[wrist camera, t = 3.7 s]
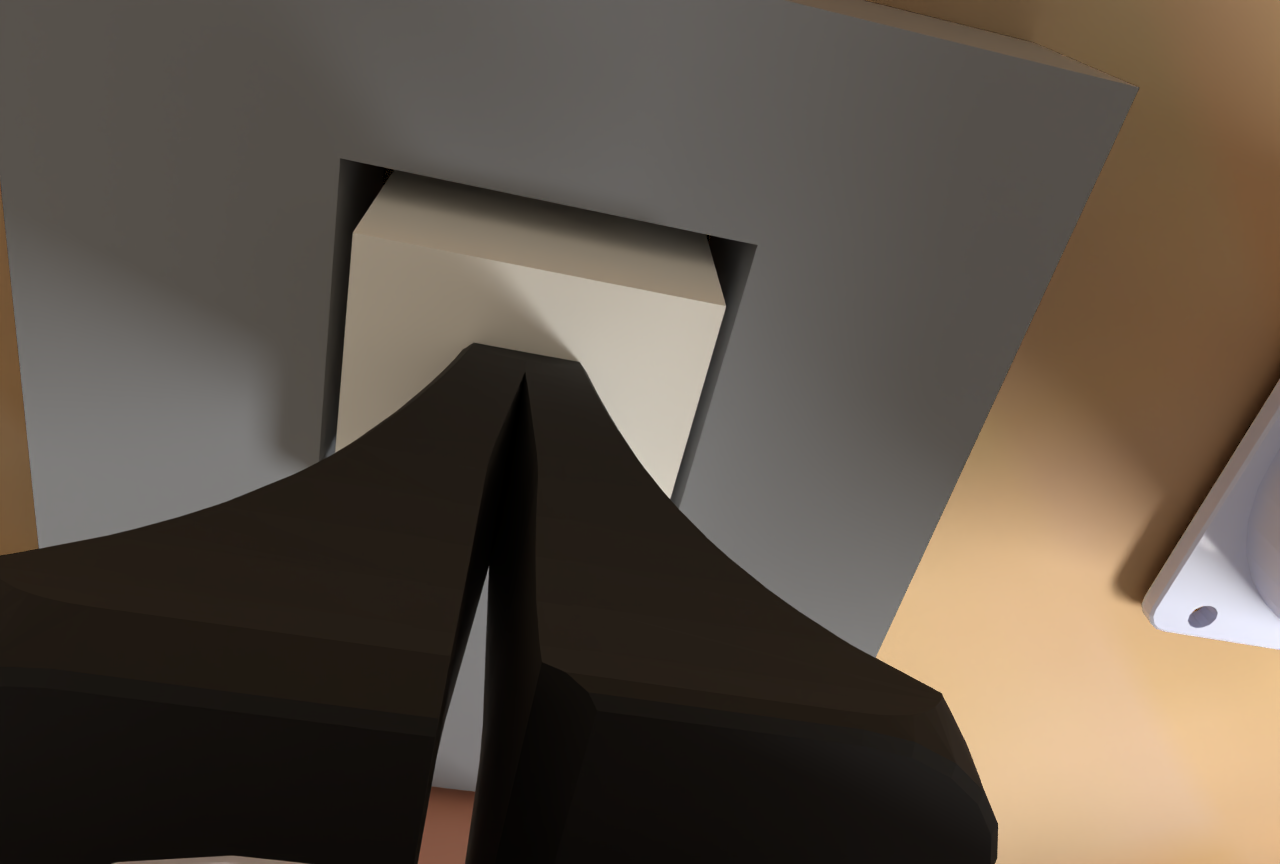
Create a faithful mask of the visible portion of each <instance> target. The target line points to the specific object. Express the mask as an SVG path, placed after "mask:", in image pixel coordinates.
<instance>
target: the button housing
mask: <svg viewBox="0 0 1280 864" xmlns="http://www.w3.org/2000/svg"><path fill="white" fill-rule="evenodd" d="M1138 90H1139V87H1137V86H1135V85H1132V84H1130V83H1128V82H1125V81H1123V80H1121V79H1118V78H1116V77H1114V76H1111V75H1109V74H1107V73H1104V72H1102V71H1099V70H1097V69H1095V68H1092V67H1090V66H1088V65H1085V64H1083V63H1081V62H1078V61H1076V60H1074V59H1071V58H1069V57H1067V56H1064V55H1062V54H1059V53H1057V52H1055V51H1052V50H1050V49H1048V48H1045V47H1043V46H1041V45H1038V44H1036V43H1033V42H1029V41H1025V40H1021V39H1017V38H1013V37H1009V36H1005V35H1001V34H997V33H993V32H989V31H985V30H981V29H977V28H973V27H969V26H965V25H961V24H957V23H953V22H949V21H945V20H941V19H937V18H933V17H929V16H925V15H921V14H917V13H913V12H909V11H905V10H901V9H897V8H893V7H889V6H885V5H881V4H877V3H873V2H869V1H865V0H0V183H1V192H2V202H3V211H4V221H5V230H6V240H7V250H8V259H9V269H10V278H11V288H12V297H13V307H14V316H15V326H16V335H17V345H18V355H19V364H20V374H21V383H22V393H23V402H24V412H25V421H26V431H27V440H28V450H29V460H30V469H31V479H32V488H33V498H34V507H35V517H36V526H37V536H38V546H39V549H40V548H45V547H50V546H55V545H61V544H66V543H71V542H76V541H81V540H87V539H92V538H97V537H102V536H107V535H111V534H115V533H120V532H124V531H128V530H132V529H136V528H140V527H144V526H147V525H151V524H155V523H158V522H162V521H166V520H169V519H173V518H177V517H180V516H183V515H186V514H190V513H193V512H196V511H199V510H202V509H205V508H209V507H212V506H215V505H218V504H221V503H224V502H226V501H229V500H232V499H234V498H236V497H239V496H241V495H244V494H246V493H249V492H251V491H254V490H256V489H259V488H261V487H264V486H266V485H269V484H271V483H274V482H276V481H279V480H281V479H283V478H286V477H288V476H291V475H293V474H295V473H297V472H299V471H302V470H304V469H306V468H308V467H310V466H312V465H313V464H315V463H317V462H319V461H321V460H323V459H325V458H327V457H329V456H331V455H332V454H334V453H335V449H336V437H337V424H338V412H339V399H340V387H341V374H342V362H343V349H344V337H345V324H346V312H347V299H348V287H349V274H350V262H351V249H352V237H353V232H354V230H355V229H356V227H357V225H358V224H359V222H360V221H361V219H362V218H363V216H364V215H365V213H366V212H367V210H368V209H369V207H370V206H371V204H372V203H373V201H374V200H375V198H376V197H377V195H378V194H379V192H380V191H381V189H382V186H383V175H384V168H389V169H394V170H399V171H404V172H408V173H413V174H418V175H423V176H428V177H432V178H437V179H442V180H447V181H452V182H456V183H461V184H466V185H471V186H476V187H481V188H485V189H490V190H495V191H500V192H505V193H509V194H514V195H519V196H524V197H529V198H533V199H538V200H543V201H548V202H553V203H557V204H562V205H567V206H572V207H577V208H582V209H586V210H591V211H596V212H601V213H606V214H610V215H615V216H620V217H625V218H630V219H634V220H639V221H644V222H649V223H654V224H659V225H663V226H668V227H673V228H678V229H683V230H687V231H692V232H697V233H702V234H707V235H711V240H710V243H709V247H710V251H711V254H712V258H713V261H714V265H715V269H716V272H717V276H718V279H719V283H720V286H721V290H722V293H723V297H724V300H725V304H726V309H725V312H724V316H723V319H722V322H721V326H720V329H719V333H718V336H717V340H716V343H715V347H714V350H713V353H712V357H711V360H710V364H709V367H708V371H707V374H706V378H705V381H704V384H703V388H702V391H701V395H700V398H699V402H698V405H697V409H696V412H695V415H694V419H693V422H692V426H691V429H690V433H689V436H688V440H687V443H686V446H685V450H684V453H683V457H682V460H681V464H680V467H679V471H678V474H677V477H676V481H675V484H674V488H673V491H672V495H671V498H670V500H671V501H672V502H673V503H674V504H675V505H676V506H677V508H678V509H679V510H680V511H681V512H682V513H683V514H684V515H685V516H686V517H687V518H688V519H689V520H690V521H691V522H692V523H693V524H694V525H695V526H696V527H697V528H698V529H699V530H700V531H701V532H702V533H703V534H704V535H705V536H706V537H707V538H708V539H709V540H710V541H711V542H712V543H713V544H714V545H716V546H717V547H718V548H719V549H720V550H721V551H722V552H723V553H725V554H726V555H727V556H728V557H729V558H730V559H731V560H733V561H734V562H735V563H736V564H738V565H739V566H740V567H741V568H743V569H744V570H745V571H746V572H747V573H749V574H750V575H751V576H752V577H754V578H755V579H756V580H757V581H759V582H760V583H761V584H762V585H764V586H765V587H766V588H767V589H769V590H770V591H771V592H773V593H774V594H775V595H777V596H778V597H780V598H781V599H782V600H784V601H785V602H787V603H788V604H789V605H791V606H792V607H794V608H795V609H796V610H798V611H799V612H801V613H802V614H804V615H805V616H807V617H809V618H810V619H812V620H813V621H815V622H816V623H818V624H819V625H821V626H822V627H824V628H826V629H827V630H829V631H830V632H832V633H833V634H835V635H836V636H838V637H839V638H841V639H843V640H844V641H846V642H848V643H849V644H851V645H853V646H854V647H856V648H858V649H860V650H862V651H864V652H865V653H867V654H869V655H871V656H873V657H875V658H876V655H877V653H878V651H879V649H880V647H881V645H882V642H883V640H884V638H885V636H886V634H887V632H888V629H889V627H890V625H891V623H892V621H893V619H894V617H895V614H896V612H897V610H898V608H899V606H900V604H901V601H902V599H903V597H904V595H905V593H906V591H907V588H908V586H909V584H910V582H911V580H912V578H913V576H914V573H915V571H916V569H917V567H918V565H919V563H920V560H921V558H922V556H923V554H924V552H925V550H926V547H927V545H928V543H929V541H930V539H931V537H932V535H933V532H934V530H935V528H936V526H937V524H938V522H939V519H940V517H941V515H942V513H943V511H944V509H945V506H946V504H947V502H948V500H949V498H950V496H951V493H952V491H953V489H954V487H955V485H956V483H957V481H958V478H959V476H960V474H961V472H962V470H963V468H964V465H965V463H966V461H967V459H968V457H969V455H970V452H971V450H972V448H973V446H974V444H975V442H976V440H977V437H978V435H979V433H980V431H981V429H982V427H983V424H984V422H985V420H986V418H987V416H988V414H989V411H990V409H991V407H992V405H993V403H994V401H995V398H996V396H997V394H998V392H999V390H1000V388H1001V386H1002V383H1003V381H1004V379H1005V377H1006V375H1007V373H1008V370H1009V368H1010V366H1011V364H1012V362H1013V360H1014V357H1015V355H1016V353H1017V351H1018V349H1019V347H1020V345H1021V342H1022V340H1023V338H1024V336H1025V334H1026V332H1027V329H1028V327H1029V325H1030V323H1031V321H1032V319H1033V316H1034V314H1035V312H1036V310H1037V308H1038V306H1039V304H1040V301H1041V299H1042V297H1043V295H1044V293H1045V291H1046V288H1047V286H1048V284H1049V282H1050V280H1051V278H1052V275H1053V273H1054V271H1055V269H1056V267H1057V265H1058V262H1059V260H1060V258H1061V256H1062V254H1063V252H1064V250H1065V247H1066V245H1067V243H1068V241H1069V239H1070V237H1071V234H1072V232H1073V230H1074V228H1075V226H1076V224H1077V221H1078V219H1079V217H1080V215H1081V213H1082V211H1083V209H1084V206H1085V204H1086V202H1087V200H1088V198H1089V196H1090V193H1091V191H1092V189H1093V187H1094V185H1095V183H1096V180H1097V178H1098V176H1099V174H1100V172H1101V170H1102V167H1103V165H1104V163H1105V161H1106V159H1107V157H1108V155H1109V152H1110V150H1111V148H1112V146H1113V144H1114V142H1115V139H1116V137H1117V135H1118V133H1119V131H1120V129H1121V126H1122V124H1123V122H1124V120H1125V118H1126V116H1127V114H1128V111H1129V109H1130V107H1131V105H1132V103H1133V101H1134V98H1135V96H1136V94H1137V92H1138ZM488 577H489V568H488V572H487V575H486V579H485V582H484V586H483V590H482V593H481V597H480V600H479V604H478V607H477V611H476V614H475V618H474V621H473V625H472V628H471V632H470V635H469V639H468V642H467V646H466V650H465V653H464V657H463V660H462V664H461V667H460V671H459V674H458V678H457V681H456V685H455V688H454V692H453V695H452V699H451V702H450V706H449V709H448V713H447V716H446V720H445V724H444V728H443V733H442V737H441V741H440V745H439V750H438V754H437V759H436V764H435V770H434V776H433V781H432V787H440V788H448V789H457V790H465V791H474V792H475V790H476V783H477V776H478V769H479V761H480V750H481V738H482V727H483V703H484V677H485V651H486V625H487V601H488Z"/></svg>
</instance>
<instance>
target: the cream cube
mask: <svg viewBox="0 0 1280 864" xmlns="http://www.w3.org/2000/svg"><path fill="white" fill-rule="evenodd" d="M725 309H726V304H725V300H724V297H723V293H722V290H721V286H720V283H719V279H718V276H717V272H716V269H715V265H714V261H713V258H712V254H711V251H710V247H709V244H708V240H707V237H706V234H702V233H697V232H692V231H687V230H683V229H678V228H673V227H668V226H663V225H659V224H654V223H649V222H644V221H639V220H634V219H630V218H625V217H620V216H615V215H610V214H606V213H601V212H596V211H591V210H586V209H582V208H577V207H572V206H567V205H562V204H557V203H553V202H548V201H543V200H538V199H533V198H529V197H524V196H519V195H514V194H509V193H505V192H500V191H495V190H490V189H485V188H481V187H476V186H471V185H466V184H461V183H456V182H452V181H447V180H442V179H437V178H432V177H428V176H423V175H418V174H413V173H408V172H404V171H399V170H394V171H393V172H392V174H391V175H390V177H389V178H388V180H387V181H386V183H385V184H384V186H383V187H382V189H381V191H380V192H379V194H378V195H377V197H376V198H375V200H374V201H373V203H372V204H371V206H370V207H369V209H368V210H367V212H366V213H365V215H364V216H363V218H362V219H361V221H360V222H359V224H358V225H357V227H356V229H355V230H354V232H353V237H352V249H351V262H350V274H349V287H348V299H347V312H346V324H345V337H344V349H343V362H342V374H341V387H340V399H339V412H338V424H337V437H336V449H335V453H336V452H337V451H339V450H341V449H342V448H344V447H345V446H347V445H349V444H350V443H352V442H353V441H355V440H356V439H358V438H359V437H361V436H362V435H364V434H365V433H366V432H368V431H369V430H371V429H372V428H373V427H375V426H376V425H378V424H379V423H381V422H382V421H383V420H385V419H386V418H388V417H389V416H390V415H392V414H393V413H395V412H396V411H397V410H398V409H400V408H401V407H402V406H403V405H405V404H406V403H407V402H408V401H409V400H410V399H412V398H413V397H414V396H415V395H416V394H418V393H419V392H420V391H421V390H422V389H424V388H425V387H426V386H427V385H428V384H429V383H430V382H432V381H433V380H434V379H435V378H436V377H437V376H438V375H439V374H440V373H441V372H442V371H443V370H444V369H445V368H446V367H447V366H448V365H449V364H450V363H451V362H452V361H453V360H454V359H455V358H456V357H457V356H458V355H459V353H460V352H461V351H462V350H463V349H464V348H466V347H468V346H469V345H471V344H472V343H479V344H484V345H490V346H495V347H501V348H506V349H511V350H517V351H522V352H528V353H533V354H538V355H544V356H550V357H555V358H561V359H566V360H572V361H577V362H580V363H581V365H582V366H583V368H584V369H585V371H586V372H587V374H588V376H589V378H590V380H591V382H592V384H593V386H594V388H595V390H596V391H597V393H598V395H599V397H600V399H601V401H602V402H603V404H604V406H605V408H606V409H607V411H608V413H609V415H610V416H611V418H612V420H613V421H614V423H615V425H616V426H617V428H618V430H619V431H620V433H621V434H622V436H623V437H624V439H625V440H626V442H627V443H628V445H629V446H630V448H631V449H632V451H633V452H634V454H635V456H636V457H637V458H638V460H639V461H640V463H641V464H642V465H643V467H644V468H645V469H646V470H647V472H648V473H649V474H650V475H651V477H652V478H653V479H654V481H655V482H656V483H657V484H658V486H659V487H660V488H661V489H662V491H663V492H664V493H665V494H666V495H667V496H668V498H669V499H670V498H671V495H672V491H673V488H674V484H675V481H676V477H677V474H678V471H679V467H680V464H681V460H682V457H683V453H684V450H685V446H686V443H687V440H688V436H689V433H690V429H691V426H692V422H693V419H694V415H695V412H696V409H697V405H698V402H699V398H700V395H701V391H702V388H703V384H704V381H705V378H706V374H707V371H708V367H709V364H710V360H711V357H712V353H713V350H714V347H715V343H716V340H717V336H718V333H719V329H720V326H721V322H722V319H723V316H724V312H725Z"/></svg>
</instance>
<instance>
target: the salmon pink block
mask: <svg viewBox="0 0 1280 864" xmlns="http://www.w3.org/2000/svg"><path fill="white" fill-rule="evenodd" d="M474 797H475V792H474V791H465V790H457V789H448V788H440V787H431V792H430V798H429V804H428V809H427V815H426V820H425V826H424V832H423V837H422V843H421V848H420V854H419V860H418V864H465V859H466V852H467V846H468V839H469V832H470V825H471V818H472V811H473V804H474Z"/></svg>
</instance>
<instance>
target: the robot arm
mask: <svg viewBox="0 0 1280 864" xmlns="http://www.w3.org/2000/svg"><path fill="white" fill-rule="evenodd" d="M488 568H489V577H488V601H487V625H486V651H485V677H484V703H483V727H482V738H481V750H480V761H479V769H478V776H477V783H476V790H475V797H474V804H473V811H472V818H471V825H470V832H469V839H468V846H467V852H466V859H465V864H995V862H996V859H997V844H998V823H997V820H996V818H995V816H994V813H993V811H992V808H991V806H990V803H989V801H988V799H987V796H986V794H985V791H984V789H983V786H982V783H981V780H980V777H979V775H978V772H977V770H976V767H975V764H974V762H973V759H972V757H971V754H970V752H969V749H968V746H967V744H966V742H965V740H964V738H963V736H962V734H961V732H960V730H959V727H958V725H957V723H956V721H955V719H954V717H953V715H952V713H951V711H950V709H949V707H948V705H947V703H946V701H945V700H944V698H943V695H942V693H940V692H938V691H936V690H935V689H933V688H931V687H929V686H927V685H925V684H923V683H921V682H920V681H918V680H916V679H914V678H912V677H910V676H908V675H907V674H905V673H903V672H901V671H899V670H897V669H895V668H893V667H892V666H890V665H888V664H886V663H884V662H882V661H880V660H879V659H877V658H875V657H873V656H871V655H869V654H867V653H865V652H864V651H862V650H860V649H858V648H856V647H854V646H853V645H851V644H849V643H848V642H846V641H844V640H843V639H841V638H839V637H838V636H836V635H835V634H833V633H832V632H830V631H829V630H827V629H826V628H824V627H822V626H821V625H819V624H818V623H816V622H815V621H813V620H812V619H810V618H809V617H807V616H805V615H804V614H802V613H801V612H799V611H798V610H796V609H795V608H794V607H792V606H791V605H789V604H788V603H787V602H785V601H784V600H782V599H781V598H780V597H778V596H777V595H775V594H774V593H773V592H771V591H770V590H769V589H767V588H766V587H765V586H764V585H762V584H761V583H760V582H759V581H757V580H756V579H755V578H754V577H752V576H751V575H750V574H749V573H747V572H746V571H745V570H744V569H743V568H741V567H740V566H739V565H738V564H736V563H735V562H734V561H733V560H731V559H730V558H729V557H728V556H727V555H726V554H725V553H723V552H722V551H721V550H720V549H719V548H718V547H717V546H716V545H714V544H713V543H712V542H711V541H710V540H709V539H708V538H707V537H706V536H705V535H704V534H703V533H702V532H701V531H700V530H699V529H698V528H697V527H696V526H695V525H694V524H693V523H692V522H691V521H690V520H689V519H688V518H687V517H686V516H685V515H684V514H683V513H682V512H681V511H680V510H679V509H678V508H677V506H676V505H675V504H674V503H673V502H672V501H671V500H670V499H669V498H668V496H667V495H666V494H665V493H664V492H663V491H662V489H661V488H660V487H659V486H658V484H657V483H656V482H655V481H654V479H653V478H652V477H651V475H650V474H649V473H648V472H647V470H646V469H645V468H644V467H643V465H642V464H641V463H640V461H639V460H638V458H637V457H636V456H635V454H634V452H633V451H632V449H631V448H630V446H629V445H628V443H627V442H626V440H625V439H624V437H623V436H622V434H621V433H620V431H619V430H618V428H617V426H616V425H615V423H614V421H613V420H612V418H611V416H610V415H609V413H608V411H607V409H606V408H605V406H604V404H603V402H602V401H601V399H600V397H599V395H598V393H597V391H596V390H595V388H594V386H593V384H592V382H591V380H590V378H589V376H588V374H587V372H586V371H585V369H584V368H583V366H582V365H581V363H580V362H577V361H572V360H566V359H561V358H555V357H550V356H544V355H538V354H533V353H528V352H522V351H517V350H511V349H506V348H501V347H495V346H490V345H484V344H479V343H472V344H471V345H469V346H468V347H466V348H464V349H463V350H462V351H461V352H460V353H459V355H458V356H457V357H456V358H455V359H454V360H453V361H452V362H451V363H450V364H449V365H448V366H447V367H446V368H445V369H444V370H443V371H442V372H441V373H440V374H439V375H438V376H437V377H436V378H435V379H434V380H433V381H432V382H430V383H429V384H428V385H427V386H426V387H425V388H424V389H422V390H421V391H420V392H419V393H418V394H416V395H415V396H414V397H413V398H412V399H410V400H409V401H408V402H407V403H406V404H405V405H403V406H402V407H401V408H400V409H398V410H397V411H396V412H395V413H393V414H392V415H390V416H389V417H388V418H386V419H385V420H383V421H382V422H381V423H379V424H378V425H376V426H375V427H373V428H372V429H371V430H369V431H368V432H366V433H365V434H364V435H362V436H361V437H359V438H358V439H356V440H355V441H353V442H352V443H350V444H349V445H347V446H345V447H344V448H342V449H341V450H339V451H337V452H336V453H334V454H332V455H331V456H329V457H327V458H325V459H323V460H321V461H319V462H317V463H315V464H313V465H312V466H310V467H308V468H306V469H304V470H302V471H299V472H297V473H295V474H293V475H291V476H288V477H286V478H283V479H281V480H279V481H276V482H274V483H271V484H269V485H266V486H264V487H261V488H259V489H256V490H254V491H251V492H249V493H246V494H244V495H241V496H239V497H236V498H234V499H232V500H229V501H226V502H224V503H221V504H218V505H215V506H212V507H209V508H205V509H202V510H199V511H196V512H193V513H190V514H186V515H183V516H180V517H177V518H173V519H169V520H166V521H162V522H158V523H155V524H151V525H147V526H144V527H140V528H136V529H132V530H128V531H124V532H120V533H115V534H111V535H107V536H102V537H97V538H92V539H87V540H81V541H76V542H71V543H66V544H61V545H55V546H50V547H45V548H40V549H35V550H30V551H24V552H19V553H14V554H7V555H1V556H0V864H418V860H419V854H420V848H421V843H422V837H423V832H424V826H425V820H426V815H427V809H428V804H429V798H430V792H431V787H432V781H433V776H434V770H435V764H436V759H437V754H438V750H439V745H440V741H441V737H442V733H443V728H444V724H445V720H446V716H447V713H448V709H449V706H450V702H451V699H452V695H453V692H454V688H455V685H456V681H457V678H458V674H459V671H460V667H461V664H462V660H463V657H464V653H465V650H466V646H467V642H468V639H469V635H470V632H471V628H472V625H473V621H474V618H475V614H476V611H477V607H478V604H479V600H480V597H481V593H482V590H483V586H484V582H485V579H486V575H487V572H488ZM1200 607H1201V608H1200ZM1197 608H1200V609H1199V610H1197V611H1195V612H1193V611H1194V610H1195V609H1197ZM1142 611H1143V613H1144V615H1145V616H1146V617H1147V619H1148V620H1149V622H1150V623H1151V624H1152V625H1153V626H1154V627H1155V628H1156V629H1158V630H1161V631H1164V632H1170V633H1177V634H1183V635H1189V636H1196V637H1202V638H1208V639H1214V640H1221V641H1227V642H1233V643H1240V644H1246V645H1252V646H1259V647H1265V648H1271V649H1277V650H1280V379H1279V381H1278V383H1277V384H1276V386H1275V387H1274V389H1273V391H1272V392H1271V394H1270V396H1269V397H1268V399H1267V400H1266V402H1265V404H1264V405H1263V407H1262V408H1261V410H1260V412H1259V413H1258V415H1257V416H1256V418H1255V420H1254V421H1253V423H1252V424H1251V426H1250V428H1249V429H1248V431H1247V432H1246V434H1245V436H1244V437H1243V439H1242V441H1241V442H1240V444H1239V445H1238V447H1237V449H1236V450H1235V452H1234V453H1233V455H1232V457H1231V458H1230V460H1229V461H1228V463H1227V465H1226V466H1225V468H1224V469H1223V471H1222V473H1221V474H1220V476H1219V477H1218V479H1217V481H1216V482H1215V484H1214V486H1213V487H1212V489H1211V490H1210V492H1209V494H1208V495H1207V497H1206V498H1205V500H1204V502H1203V503H1202V505H1201V506H1200V508H1199V510H1198V511H1197V513H1196V514H1195V516H1194V518H1193V519H1192V521H1191V522H1190V524H1189V526H1188V527H1187V529H1186V531H1185V532H1184V534H1183V535H1182V537H1181V539H1180V540H1179V542H1178V543H1177V545H1176V547H1175V548H1174V550H1173V551H1172V553H1171V555H1170V556H1169V558H1168V559H1167V561H1166V563H1165V564H1164V566H1163V568H1162V569H1161V571H1160V572H1159V574H1158V576H1157V577H1156V579H1155V580H1154V582H1153V584H1152V585H1151V587H1150V588H1149V590H1148V592H1147V593H1146V595H1145V596H1144V599H1143V602H1142ZM1192 612H1193V613H1192Z"/></svg>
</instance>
